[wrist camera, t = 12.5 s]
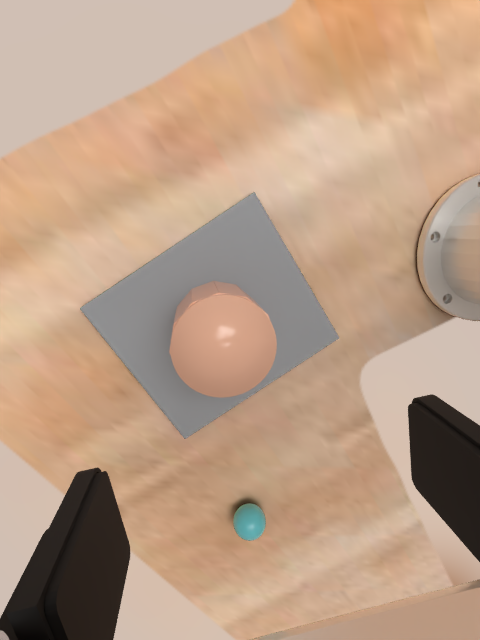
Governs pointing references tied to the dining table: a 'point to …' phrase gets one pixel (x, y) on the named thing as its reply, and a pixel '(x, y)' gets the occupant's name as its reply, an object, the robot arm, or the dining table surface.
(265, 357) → the peach domed cylinder
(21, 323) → the dining table surface
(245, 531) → the teal ball
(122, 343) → the slate mat
